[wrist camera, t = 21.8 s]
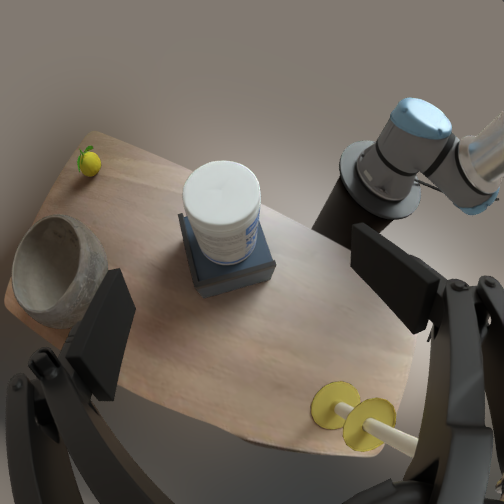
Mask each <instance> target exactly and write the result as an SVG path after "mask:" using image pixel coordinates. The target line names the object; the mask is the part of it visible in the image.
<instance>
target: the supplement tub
mask: <svg viewBox="0 0 504 504" xmlns="http://www.w3.org/2000/svg"><path fill="white" fill-rule="evenodd" d="M182 195H183V203H184V209H185V212H186V214H187V217H188V220H189V222H190V224H191V227H192V229H193V232H194V234H195V237H196V239H197V242H198V244H199V247H200V249H201V251H202V252H203V254H204V255H205V256H206V257H207V258H208V259H209V260H211V261H212V262H214V263H217V264H220V265H234V264H237V263H240V262H242V261H243V260H245V259H246V258H247V257H248V256H249V255H250V254H251V253H252V251H253V250H254V248H255V245H256V240H257V231H258V222H259V213H260V203H261V193H260V186H259V182H258V180H257V178H256V176H255V175H254V174H253V172H252V171H251V170H249V169H248V168H247V167H245V166H244V165H242V164H239V163H236V162H232V161H214V162H210V163H207V164H205V165H203V166H201V167H199V168H198V169H196V170H195V171H194V172H193V173H192V174H191V175H190V176H189V177H188V179H187V181H186V182H185V185H184V188H183V194H182Z"/></svg>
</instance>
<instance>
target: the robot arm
mask: <svg viewBox="0 0 504 504" xmlns="http://www.w3.org/2000/svg"><path fill="white" fill-rule="evenodd" d="M503 1H504V0H503ZM451 130H452V126H451V123H450V121H449V119H448V118H446V117H445V114H444V113H443V112H442V111H440V110H439V109H438V108H437V107H435V106H434V105H432V104H430V103H428V102H426V101H423V100H421V99H417V98H405V99H403V100H401V101H400V102H399V103H398V105H397V106H396V108H395V109H394V110H393V111H392V112H391V114H390V119H389V120H388V122H387V124H386V126H385V127H384V129H383V131H382V132H381V134H380V136H379V138H378V139H377V141H376V142H375V143H373V144H372V145H371V146H369V147H368V148H366V149H365V150H364V151H362V152H361V154H360V155H359V157H358V159H357V161H356V167H355V168H356V173H357V176H358V179H359V181H360V182H361V184H362V185H363V186H364V188H365V189H366V190H367V191H368V192H369V193H370V194H372V195H373V196H375V197H376V198H378V199H380V200H382V201H385V202H390V203H396V202H400V201H402V200H404V199H405V198H406V197H407V196H408V194H409V193H410V192H411V189H412V185H413V183H414V181H416V182H418V183H420V184H423V185H425V186H428V187H430V188H432V189H435V190H437V191H440V192H442V193H444V194H445V195H446V196H447V197H448V198H449V199H450V200H451V201H452V202H453V204H454V205H455V206H456V207H458V208H460V209H461V210H462V211H463V212H464V213H466V214H468V215H476V214H479V213H481V212H483V211H484V210H486V209H487V206H490V205H491V204H492V203H493V202H494V201H497V200H499V198H496V197H497V195H498V192H499V187H500V184H501V178H503V177H504V110H503V111H502V112H501V113H500V114H499V115H498V116H497V117H496V118H495V119H494V120H493V121H492V122H491V123H490V124H489V125H488V126H487V127H486V128H485V129H484V130H483V131H482V132H481V133H480V134H478V135H477V136H476V137H475V136H471V135H470V136H465V137H463V138H462V139H461V140H459V139H458V138H457V137H456V136H455V135H454V134H453V133H452V132H451ZM419 171H420V172H421V173H422V174H423V175H425V176H426V177H427V178H428V179H429V180H430V181H431V182H432V183H433V184H435V185H436V186H437V187H438V188H437V187H434V186H431V185H429V184H427V183H424V182H422V181H420V180H418V179H415V176H416V174H417V173H418V172H419ZM350 267H351V268H352V269H353V270H354V271H355V272H356V273H357V274H358V275H359V276H360V277H361V278H362V279H363V280H364V281H365V282H366V283H367V284H368V285H369V286H370V287H371V288H372V290H373V291H374V292H375V293H376V294H377V295H378V296H379V297H380V298H381V299H382V300H383V301H384V302H385V303H386V305H387V306H388V307H389V308H390V309H391V310H392V311H393V312H394V313H395V314H396V316H397V317H398V318H399V319H400V320H401V321H402V322H403V323H404V325H405V326H406V327H407V328H408V329H409V330H410V331H411V333H412V334H413V335H414V334H417V333H419V332H421V331H423V330H425V329H426V326H427V323H428V320H430V321H431V322H432V323H433V326H432V329H431V331H430V334H429V337H428V340H427V342H429V340H430V339H431V351H430V366H429V377H428V385H427V393H426V400H425V407H424V413H423V419H422V424H421V428H420V433H419V438H418V442H417V446H416V450H415V454H414V457H413V460H412V462H411V463H410V465H409V467H408V469H407V471H406V473H405V475H404V478H403V481H398V482H392V480H391V479H388V480H386V481H384V482H382V483H380V484H378V485H376V486H373V487H371V488H369V489H367V490H364V491H362V492H360V493H358V494H356V495H355V496H353V497H352V498H350V499H348V500H347V501H345V502H344V503H342V504H504V289H503V287H502V286H501V284H500V283H499V282H498V281H497V280H496V279H495V278H493V277H491V276H481V277H480V279H479V282H478V285H477V286H470V287H469V285H468V284H467V283H466V282H463V281H462V280H459V279H450V280H447V279H446V278H444V277H443V276H442V275H441V274H439V273H438V272H437V271H435V270H434V269H433V268H431V267H430V266H429V265H427V264H426V263H425V262H423V261H422V260H421V259H419V258H417V257H415V256H412V255H409V254H407V253H406V252H405V251H403V250H402V249H400V248H399V247H398V246H396V245H395V244H393V243H392V242H391V241H389V240H388V239H386V238H385V237H383V236H382V235H381V234H379V233H378V232H376V231H375V230H373V229H372V228H370V227H369V226H367V225H366V224H364V223H359V224H353V225H352V243H351V264H350ZM135 310H136V307H135V305H134V303H133V300H132V298H131V295H130V293H129V291H128V288H127V285H126V283H125V280H124V278H123V275H122V272H121V270H120V268H118V269H113V270H108V272H107V273H106V275H105V277H104V279H103V280H102V282H101V284H100V286H99V288H98V290H97V291H96V293H95V295H94V297H93V299H92V301H91V303H90V305H89V307H88V309H87V311H86V313H85V315H84V317H83V319H82V321H78V322H77V323H76V324H75V325H74V326H73V327H72V329H71V331H70V333H69V335H68V337H67V339H66V341H65V343H64V345H63V348H62V350H61V352H60V354H59V357H58V358H57V357H56V355H55V354H54V352H53V351H52V350H51V348H48V347H43V348H40V349H38V350H37V351H36V352H34V353H33V354H32V356H31V357H30V359H29V362H28V366H29V368H30V369H31V370H32V372H33V373H34V374H35V375H36V377H37V379H34V380H31V381H30V380H29V379H28V378H27V377H26V376H25V374H23V373H20V374H16V375H15V376H13V377H12V378H11V379H10V381H9V383H8V386H7V397H6V446H7V458H8V467H9V475H10V481H11V487H12V493H13V497H14V502H15V504H84V503H83V500H82V498H81V495H80V492H79V489H78V486H77V483H76V480H75V477H74V473H73V470H72V466H71V463H70V459H69V455H68V452H69V454H70V455H71V457H72V459H73V461H74V463H75V465H76V467H77V468H78V470H79V472H80V474H81V475H82V477H83V478H84V480H85V482H86V484H87V485H88V487H89V488H90V490H91V491H92V493H93V494H94V496H95V497H96V499H97V500H98V502H99V503H100V504H174V503H173V502H172V501H171V500H170V499H169V498H168V497H167V496H166V495H165V494H164V493H163V492H162V491H161V490H160V489H159V488H158V487H157V486H156V485H155V484H154V483H153V482H152V480H151V479H150V478H149V477H148V476H147V475H146V474H145V473H144V472H143V470H142V469H141V468H140V467H139V466H138V464H137V463H136V462H135V461H134V460H133V458H132V457H131V456H130V455H129V453H128V452H127V451H126V450H125V448H124V447H123V446H122V445H121V443H120V442H119V440H118V439H117V438H116V436H115V435H114V434H113V432H112V431H111V429H110V428H109V426H108V425H107V424H106V422H105V421H104V419H103V418H102V416H101V415H100V413H99V411H98V410H97V408H96V407H95V405H94V404H93V403H92V401H91V400H90V399H91V395H92V393H93V395H94V396H95V397H96V398H97V399H98V401H114V396H115V391H116V386H117V382H118V377H119V372H120V368H121V364H122V359H123V355H124V351H125V347H126V343H127V339H128V336H129V332H130V328H131V324H132V321H133V317H134V314H135ZM489 317H491V324H490V325H489V323H488V319H489ZM485 392H486V396H487V400H488V405H489V409H490V414H491V419H492V425H493V430H494V437H495V444H496V451H497V457H498V462H499V466H500V470H501V473H502V478H501V479H500V480H499V481H498V482H497V484H496V492H497V493H502V494H501V498H500V500H494V499H488V498H485V494H486V488H487V484H488V478H489V472H490V465H491V458H492V448H493V431H492V429H491V428H489V427H486V426H485V421H484V419H485ZM67 450H68V451H67Z"/></svg>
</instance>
